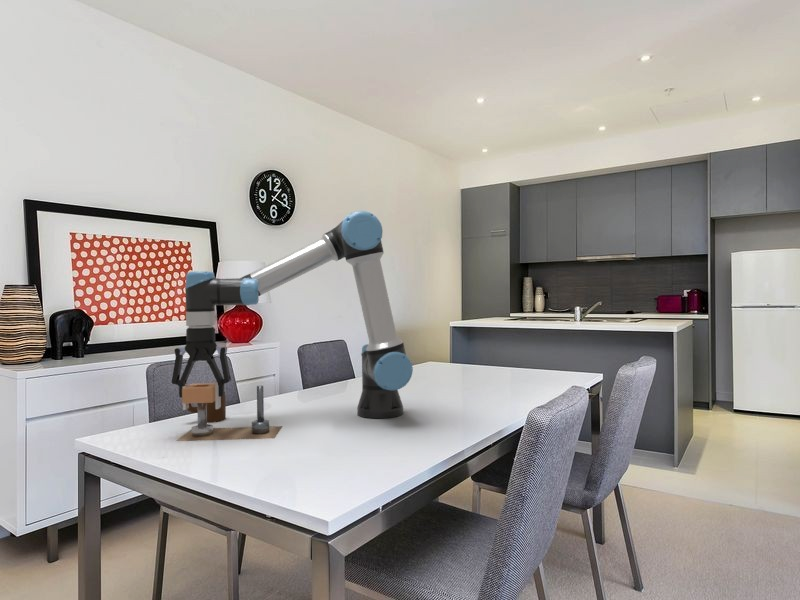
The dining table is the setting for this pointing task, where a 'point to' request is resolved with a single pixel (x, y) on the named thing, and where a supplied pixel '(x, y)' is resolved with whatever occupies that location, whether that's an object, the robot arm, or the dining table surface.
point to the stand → (260, 415)
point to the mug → (213, 411)
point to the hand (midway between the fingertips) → (202, 408)
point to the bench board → (232, 434)
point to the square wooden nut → (199, 393)
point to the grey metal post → (202, 422)
